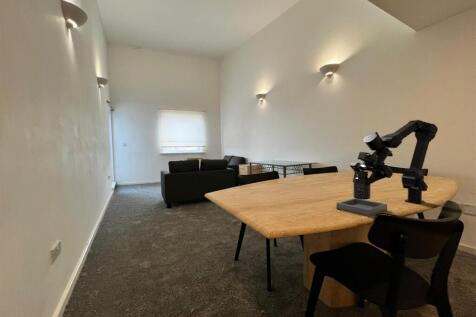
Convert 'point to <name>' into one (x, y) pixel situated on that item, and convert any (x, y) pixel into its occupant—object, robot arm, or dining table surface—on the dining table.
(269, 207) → the dining table surface
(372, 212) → the slate tray
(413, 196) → the robot arm
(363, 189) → the supplement bottle
